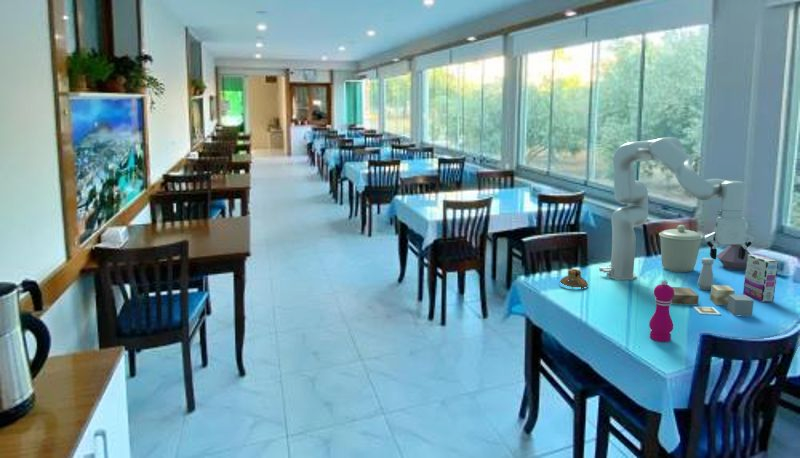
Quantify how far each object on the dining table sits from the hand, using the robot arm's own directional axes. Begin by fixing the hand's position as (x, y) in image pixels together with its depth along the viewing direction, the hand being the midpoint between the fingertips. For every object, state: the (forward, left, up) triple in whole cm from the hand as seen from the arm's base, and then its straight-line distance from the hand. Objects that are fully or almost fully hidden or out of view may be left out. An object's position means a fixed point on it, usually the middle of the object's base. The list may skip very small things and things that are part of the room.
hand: (727, 258), depth 213 cm
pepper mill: (-33, -38, -18) cm, 53 cm away
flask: (+25, +51, -18) cm, 60 cm away
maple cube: (0, 0, -18) cm, 18 cm away
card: (-9, -10, -18) cm, 22 cm away
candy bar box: (+16, +7, -18) cm, 25 cm away
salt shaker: (0, +17, -18) cm, 25 cm away
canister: (-2, +45, -18) cm, 49 cm away
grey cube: (+2, -11, -18) cm, 21 cm away
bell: (-53, +16, -18) cm, 59 cm away
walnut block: (-15, +2, -18) cm, 24 cm away
